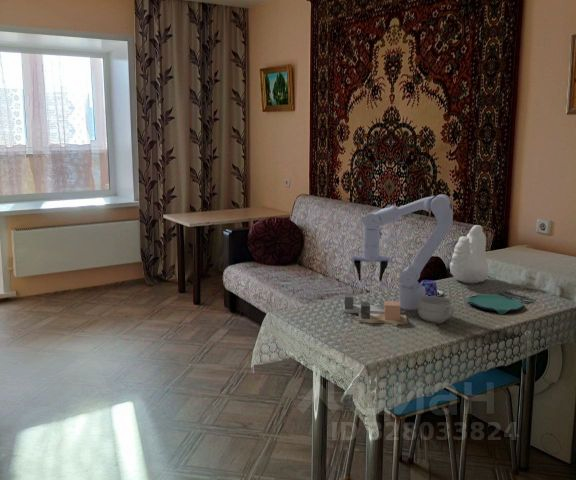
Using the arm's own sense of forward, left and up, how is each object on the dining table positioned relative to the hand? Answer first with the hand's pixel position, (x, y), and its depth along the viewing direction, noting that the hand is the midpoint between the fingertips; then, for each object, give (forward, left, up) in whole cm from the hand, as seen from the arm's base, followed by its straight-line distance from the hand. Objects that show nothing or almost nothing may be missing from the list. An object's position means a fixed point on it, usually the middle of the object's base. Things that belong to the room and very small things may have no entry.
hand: (369, 280), depth 217 cm
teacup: (-22, +18, -10) cm, 30 cm away
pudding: (-24, -19, -10) cm, 33 cm away
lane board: (+1, +16, -9) cm, 18 cm away
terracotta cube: (-7, +21, -7) cm, 23 cm away
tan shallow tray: (-4, +21, -8) cm, 23 cm away
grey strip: (+2, +11, -8) cm, 14 cm away
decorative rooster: (-42, -39, -10) cm, 59 cm away
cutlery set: (-51, -8, -10) cm, 53 cm away
